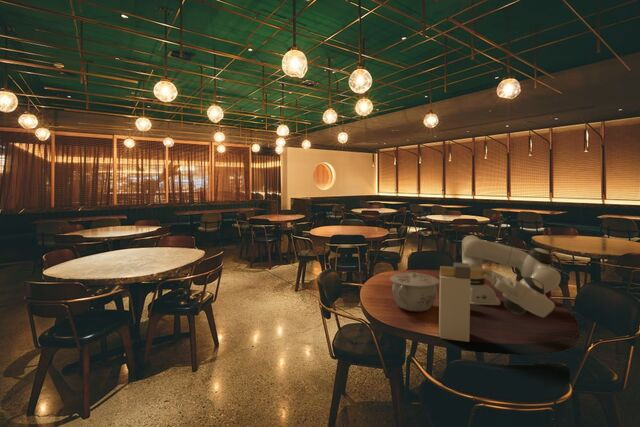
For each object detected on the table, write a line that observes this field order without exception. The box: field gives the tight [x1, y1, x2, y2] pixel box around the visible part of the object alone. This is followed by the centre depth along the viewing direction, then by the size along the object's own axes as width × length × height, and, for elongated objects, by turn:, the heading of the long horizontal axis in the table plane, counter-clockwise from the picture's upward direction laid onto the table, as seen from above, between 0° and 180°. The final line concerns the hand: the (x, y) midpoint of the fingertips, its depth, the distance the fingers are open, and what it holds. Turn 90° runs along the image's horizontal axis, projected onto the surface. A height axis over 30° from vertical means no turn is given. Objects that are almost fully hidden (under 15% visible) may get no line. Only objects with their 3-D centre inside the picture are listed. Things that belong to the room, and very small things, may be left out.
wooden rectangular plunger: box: [439, 265, 493, 279], centre depth 138 cm, size 21×4×4 cm, turn 71°
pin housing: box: [438, 262, 471, 343], centre depth 140 cm, size 12×10×33 cm
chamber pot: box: [389, 271, 440, 313], centre depth 175 cm, size 28×28×21 cm
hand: (482, 272), depth 136 cm, fingers open, 8 cm apart
